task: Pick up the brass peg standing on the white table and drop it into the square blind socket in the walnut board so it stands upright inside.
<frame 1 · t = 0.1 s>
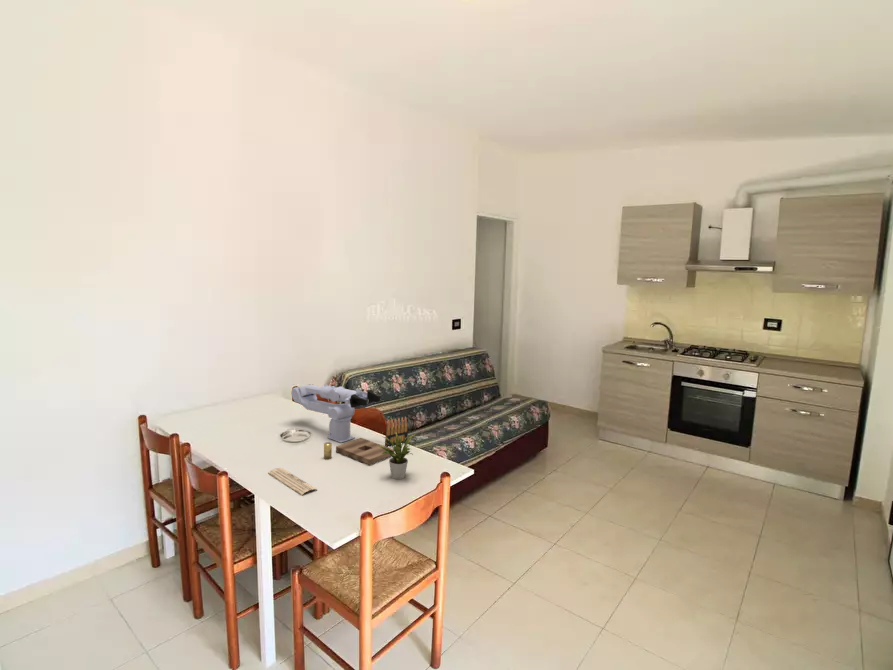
hand: (372, 400, 205), 22 cm above the table, tool horizontal, fingers open, 7 cm apart
wooden slat: (293, 483, 177), on the table
ammunition clip: (396, 444, 216), on the table
walnut socket board: (364, 453, 204), on the table
house plant: (399, 475, 186), on the table
brass peg: (327, 457, 198), on the table
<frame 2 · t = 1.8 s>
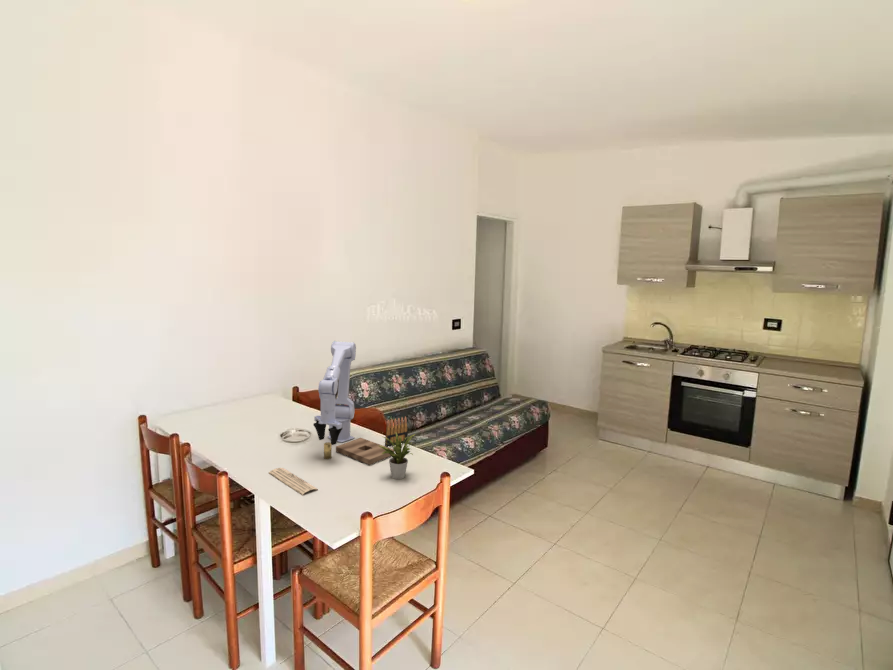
hand: (327, 441, 197), 7 cm above the table, tool pointing down, fingers open, 7 cm apart
nothing on the table moved.
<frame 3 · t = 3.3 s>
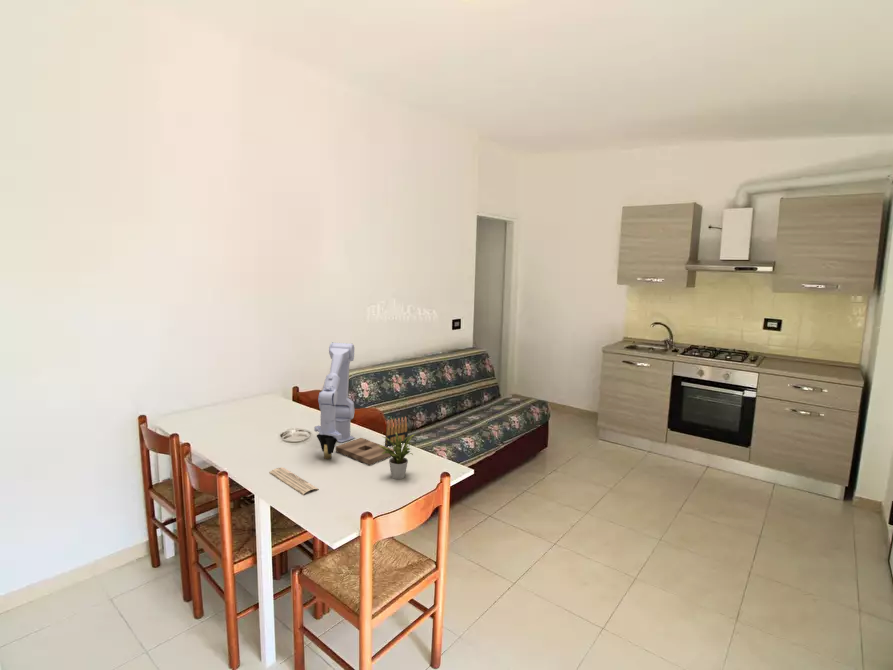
hand: (327, 452, 198), 2 cm above the table, tool pointing down, fingers closed on brass peg, 3 cm apart
brass peg: (327, 457, 198), on the table, touching gripper
everything else where it was.
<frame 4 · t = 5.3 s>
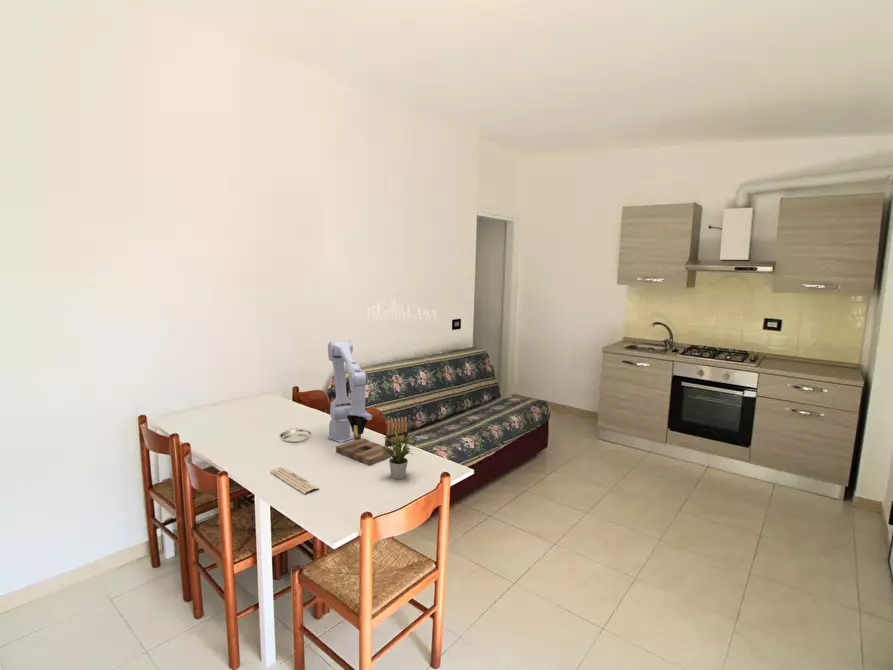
hand: (357, 432, 201), 9 cm above the table, tool pointing down, fingers closed on brass peg, 3 cm apart
brass peg: (357, 438, 202), point 7 cm above the table, touching gripper
everything else where it was.
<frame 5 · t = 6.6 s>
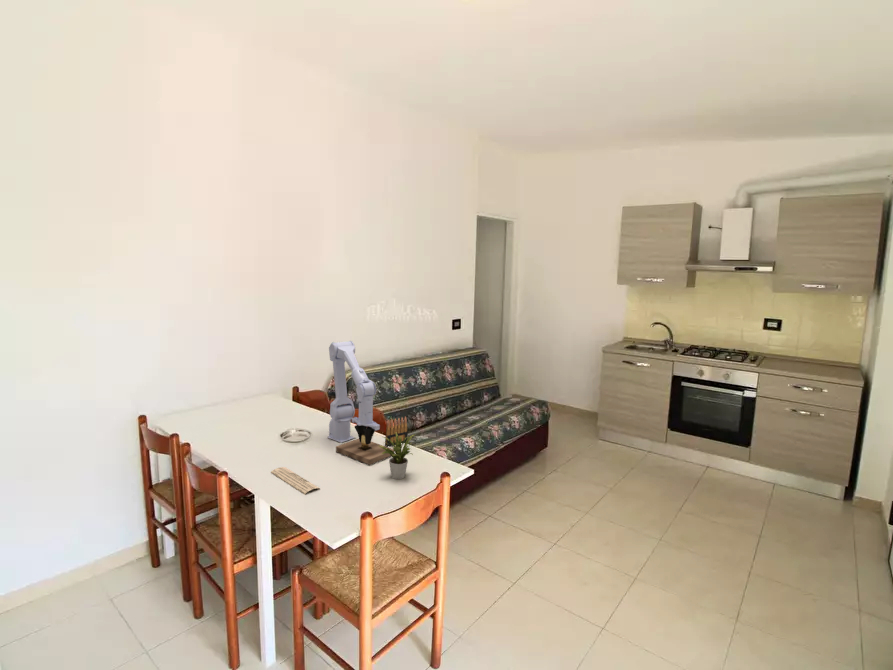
hand: (365, 442, 203), 5 cm above the table, tool pointing down, fingers closed on brass peg, 3 cm apart
brass peg: (364, 448, 204), point 2 cm above the table, touching gripper
when the fingers open (4 cm above the table, at t = 7.7 s): brass peg stays where it is, resting on walnut socket board.
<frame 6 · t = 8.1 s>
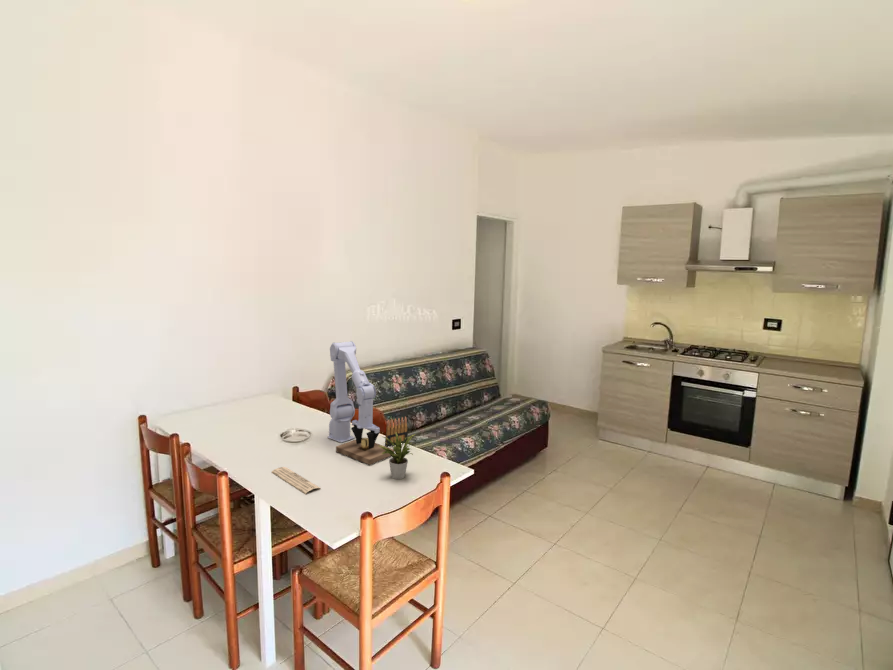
hand: (365, 445, 203), 4 cm above the table, tool pointing down, fingers open, 7 cm apart
brass peg: (364, 452, 204), point 1 cm above the table, touching walnut socket board
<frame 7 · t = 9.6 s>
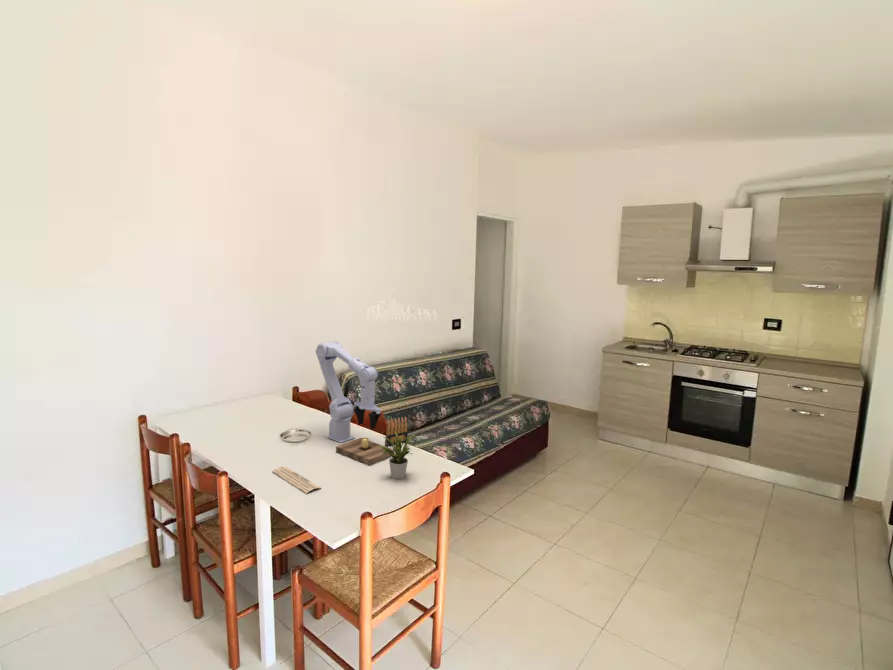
hand: (366, 426, 210), 9 cm above the table, tool pointing down, fingers open, 7 cm apart
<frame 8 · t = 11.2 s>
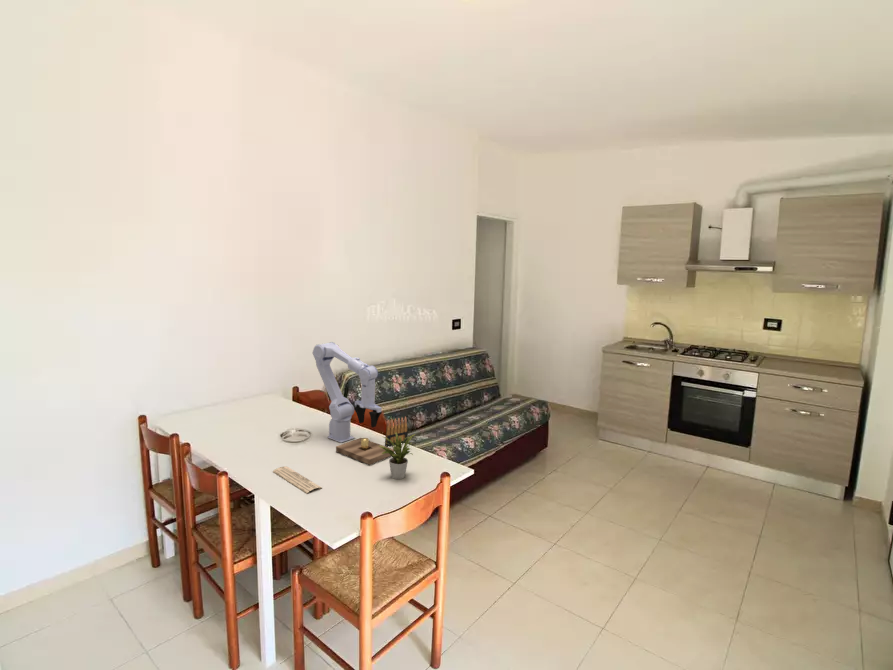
hand: (367, 424, 212), 9 cm above the table, tool pointing down, fingers open, 7 cm apart
at the end: brass peg 0.2 cm off-centre on the walnut socket board, point 0.5 cm above the walnut socket board's base; brass peg tilted 0°; the gripper is holding nothing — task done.
